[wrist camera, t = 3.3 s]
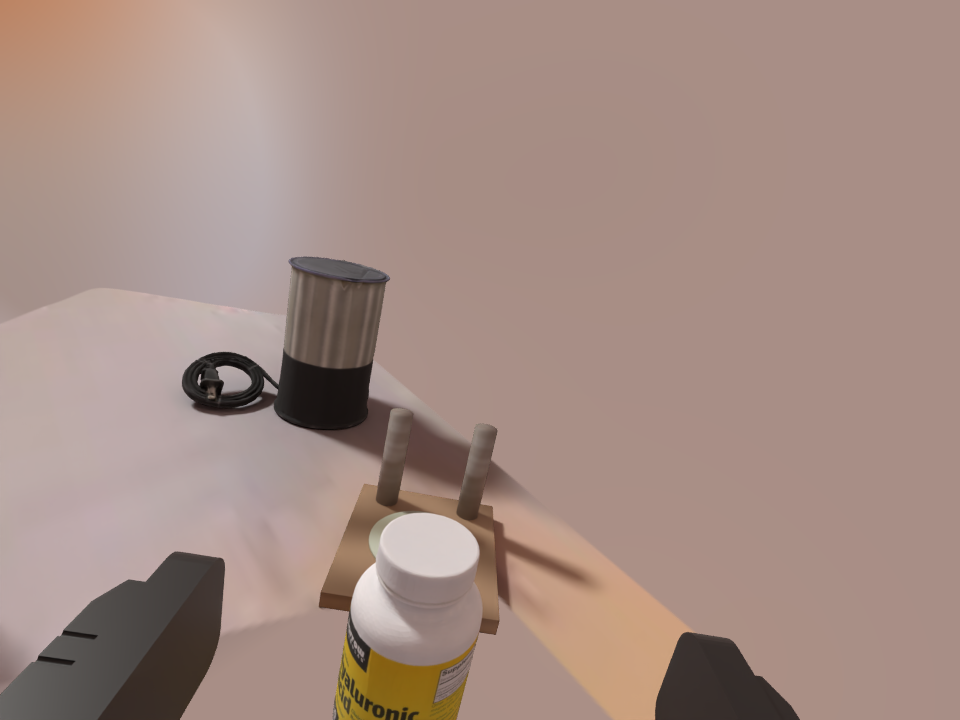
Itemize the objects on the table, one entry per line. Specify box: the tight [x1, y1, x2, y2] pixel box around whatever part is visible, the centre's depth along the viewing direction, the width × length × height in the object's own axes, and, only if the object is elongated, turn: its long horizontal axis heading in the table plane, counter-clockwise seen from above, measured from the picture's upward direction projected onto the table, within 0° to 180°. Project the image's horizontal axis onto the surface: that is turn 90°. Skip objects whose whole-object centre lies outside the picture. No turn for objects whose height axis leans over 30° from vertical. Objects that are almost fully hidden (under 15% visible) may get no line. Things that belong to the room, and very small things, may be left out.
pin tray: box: [319, 408, 499, 635], centre depth 33 cm, size 12×10×8 cm
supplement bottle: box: [333, 513, 483, 720], centre depth 22 cm, size 5×5×10 cm
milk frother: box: [182, 257, 390, 429], centre depth 49 cm, size 14×16×15 cm
